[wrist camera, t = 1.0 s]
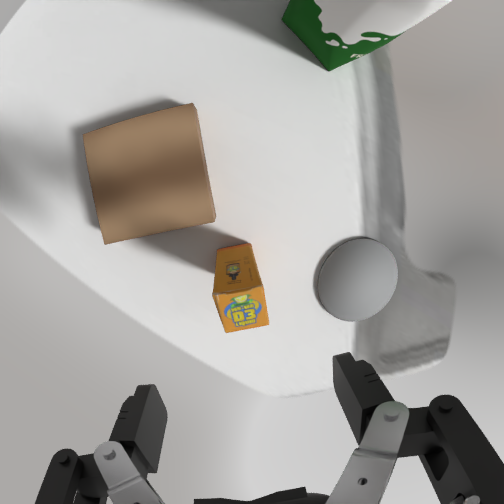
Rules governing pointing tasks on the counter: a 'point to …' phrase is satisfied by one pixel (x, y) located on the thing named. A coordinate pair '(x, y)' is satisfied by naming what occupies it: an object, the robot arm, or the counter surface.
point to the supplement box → (239, 289)
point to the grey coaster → (357, 279)
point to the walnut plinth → (149, 174)
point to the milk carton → (353, 25)
